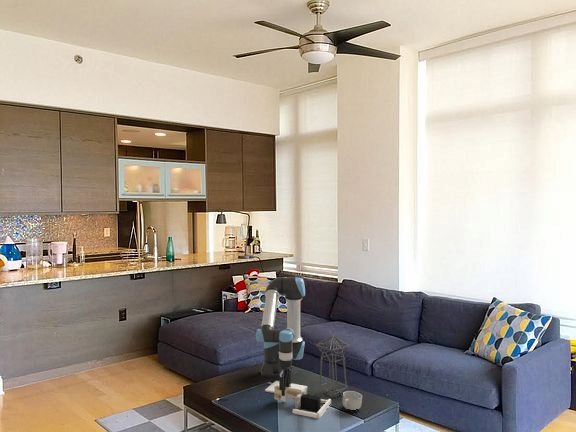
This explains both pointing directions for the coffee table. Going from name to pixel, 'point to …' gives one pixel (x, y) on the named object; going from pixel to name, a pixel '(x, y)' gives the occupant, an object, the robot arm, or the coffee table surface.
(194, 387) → the coffee table surface
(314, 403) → the digital camera
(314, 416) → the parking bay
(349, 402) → the teacup
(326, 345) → the geometric lantern
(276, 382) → the rest board
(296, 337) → the robot arm
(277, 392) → the beige piece
